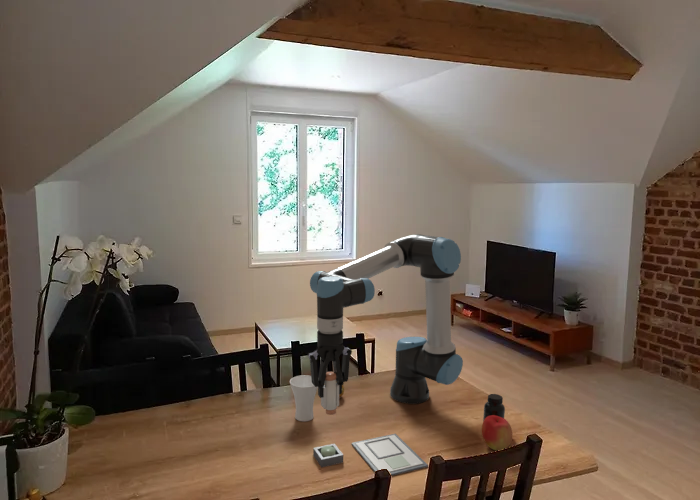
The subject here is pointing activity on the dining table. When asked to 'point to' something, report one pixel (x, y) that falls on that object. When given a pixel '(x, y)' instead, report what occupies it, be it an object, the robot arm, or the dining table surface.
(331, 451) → the button
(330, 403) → the marker
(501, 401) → the supplement bottle
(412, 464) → the grey rectangular board
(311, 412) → the cup
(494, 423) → the apple
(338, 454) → the button housing
